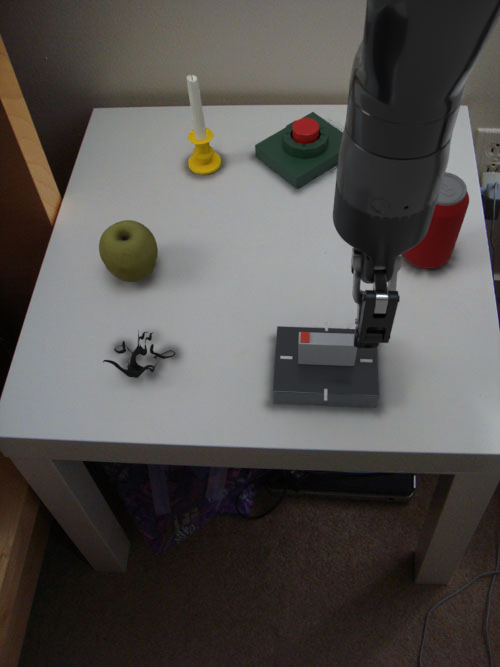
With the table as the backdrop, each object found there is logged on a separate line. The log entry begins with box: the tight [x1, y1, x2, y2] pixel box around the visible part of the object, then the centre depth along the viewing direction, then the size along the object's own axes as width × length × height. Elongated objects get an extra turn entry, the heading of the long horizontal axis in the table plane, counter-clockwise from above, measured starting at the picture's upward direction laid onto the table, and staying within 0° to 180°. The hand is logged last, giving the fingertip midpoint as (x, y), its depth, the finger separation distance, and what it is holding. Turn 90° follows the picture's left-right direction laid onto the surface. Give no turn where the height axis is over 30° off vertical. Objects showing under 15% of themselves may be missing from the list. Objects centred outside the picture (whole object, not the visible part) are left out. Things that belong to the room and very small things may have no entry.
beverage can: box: [402, 171, 470, 269], centre depth 77 cm, size 7×7×12 cm
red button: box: [292, 117, 319, 144], centre depth 90 cm, size 4×4×2 cm
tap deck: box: [272, 320, 380, 409], centre depth 71 cm, size 12×11×3 cm
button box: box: [254, 111, 343, 190], centre depth 92 cm, size 12×10×4 cm
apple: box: [98, 219, 159, 283], centre depth 80 cm, size 8×8×7 cm
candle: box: [186, 73, 222, 176], centre depth 88 cm, size 5×5×16 cm
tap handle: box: [298, 332, 357, 366], centre depth 68 cm, size 6×2×5 cm, turn 85°
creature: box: [102, 329, 176, 379], centre depth 73 cm, size 8×5×8 cm
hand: (363, 306), depth 57 cm, fingers open, 8 cm apart
